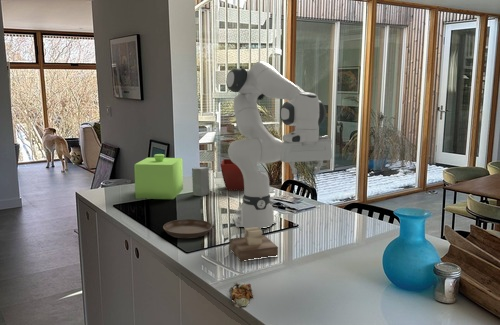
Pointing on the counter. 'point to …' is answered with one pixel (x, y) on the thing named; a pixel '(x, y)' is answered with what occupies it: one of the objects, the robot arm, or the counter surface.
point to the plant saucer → (187, 228)
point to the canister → (158, 177)
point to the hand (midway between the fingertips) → (305, 172)
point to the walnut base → (253, 248)
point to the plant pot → (232, 175)
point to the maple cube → (253, 236)
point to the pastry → (241, 294)
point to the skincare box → (200, 181)
